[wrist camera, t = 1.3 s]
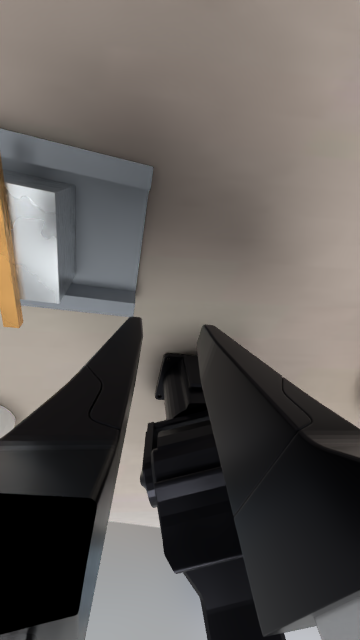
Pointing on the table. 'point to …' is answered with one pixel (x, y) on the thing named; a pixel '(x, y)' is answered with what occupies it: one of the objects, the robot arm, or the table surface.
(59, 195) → the gauge sled
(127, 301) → the track
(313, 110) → the table surface
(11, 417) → the shot glass
